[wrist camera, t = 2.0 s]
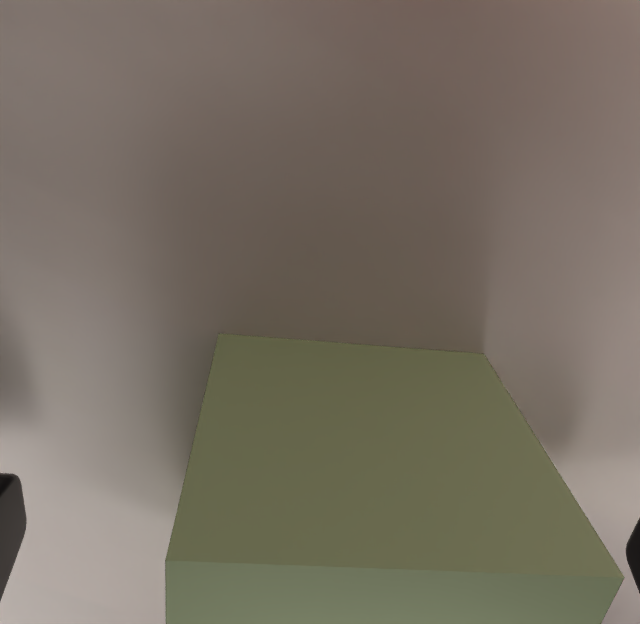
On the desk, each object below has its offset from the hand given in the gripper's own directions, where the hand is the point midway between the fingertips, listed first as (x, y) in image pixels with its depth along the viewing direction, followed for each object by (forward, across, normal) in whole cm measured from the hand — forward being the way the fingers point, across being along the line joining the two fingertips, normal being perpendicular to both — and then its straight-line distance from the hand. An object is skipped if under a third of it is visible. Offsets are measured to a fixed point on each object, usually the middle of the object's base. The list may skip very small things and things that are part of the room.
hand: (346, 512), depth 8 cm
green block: (+1, 0, 0) cm, 1 cm away
